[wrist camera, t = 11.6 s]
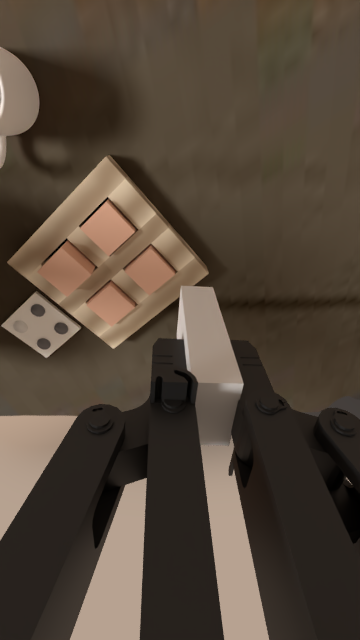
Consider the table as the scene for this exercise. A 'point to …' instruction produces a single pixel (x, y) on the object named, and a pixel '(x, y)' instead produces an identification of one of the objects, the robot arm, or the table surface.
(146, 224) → the board
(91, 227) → the button
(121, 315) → the button
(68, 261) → the button
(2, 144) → the cup
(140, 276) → the button
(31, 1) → the table surface
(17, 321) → the card
